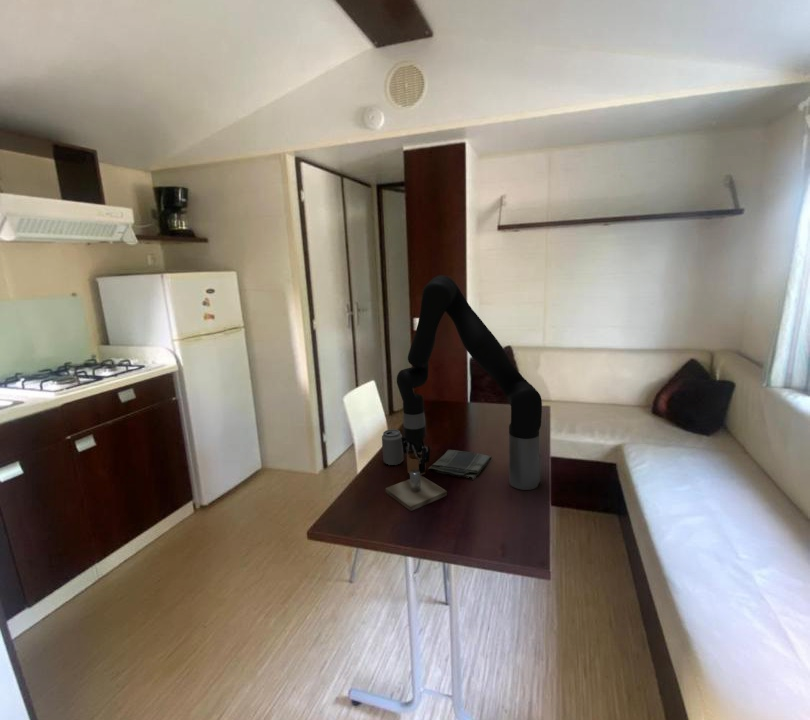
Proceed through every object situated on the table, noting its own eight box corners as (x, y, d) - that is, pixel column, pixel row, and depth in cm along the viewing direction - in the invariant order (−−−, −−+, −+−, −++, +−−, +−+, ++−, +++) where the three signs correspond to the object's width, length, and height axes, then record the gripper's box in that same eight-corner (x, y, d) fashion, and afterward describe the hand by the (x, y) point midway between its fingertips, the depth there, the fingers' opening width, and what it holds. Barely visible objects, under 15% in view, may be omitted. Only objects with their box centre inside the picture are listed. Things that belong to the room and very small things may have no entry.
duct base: (420, 478, 146) (420, 474, 145) (447, 495, 134) (446, 491, 134) (385, 492, 138) (385, 488, 138) (410, 511, 127) (410, 506, 126)
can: (391, 456, 165) (389, 426, 162) (407, 460, 160) (405, 430, 158) (379, 463, 159) (377, 433, 156) (395, 468, 154) (393, 437, 152)
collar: (418, 466, 155) (417, 451, 154) (428, 472, 150) (428, 456, 149) (404, 471, 152) (404, 455, 150) (414, 477, 147) (413, 461, 145)
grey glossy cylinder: (416, 486, 138) (415, 468, 137) (422, 490, 135) (421, 472, 134) (408, 489, 136) (407, 472, 135) (414, 493, 134) (413, 475, 132)
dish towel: (448, 452, 166) (447, 444, 166) (492, 460, 158) (492, 452, 157) (426, 473, 151) (426, 464, 150) (474, 483, 142) (474, 474, 141)
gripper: (435, 427, 143) (437, 473, 147) (411, 416, 155) (413, 459, 159) (417, 432, 139) (420, 480, 143) (393, 421, 151) (396, 465, 154)
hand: (416, 469), depth 151 cm, fingers closed on collar, 6 cm apart
